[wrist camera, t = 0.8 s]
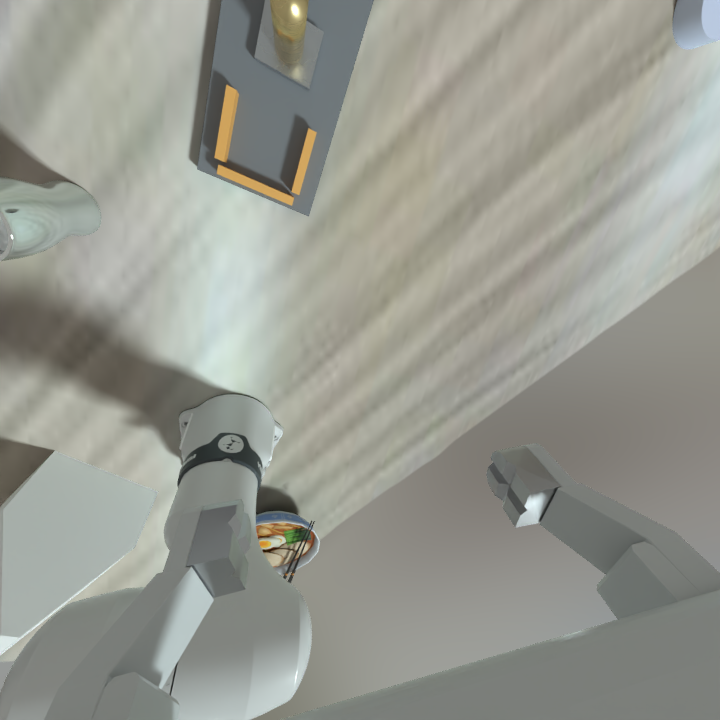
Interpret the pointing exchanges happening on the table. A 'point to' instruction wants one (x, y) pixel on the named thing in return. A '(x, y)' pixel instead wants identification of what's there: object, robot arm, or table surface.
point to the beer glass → (42, 215)
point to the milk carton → (63, 538)
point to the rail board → (277, 103)
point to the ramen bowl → (286, 540)
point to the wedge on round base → (696, 23)
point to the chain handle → (288, 41)
